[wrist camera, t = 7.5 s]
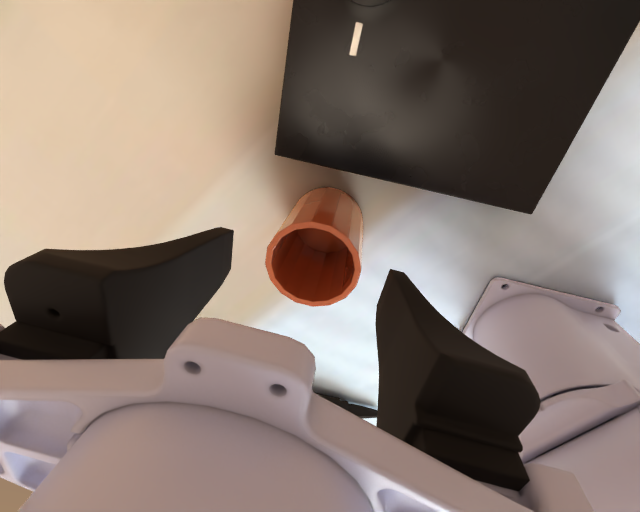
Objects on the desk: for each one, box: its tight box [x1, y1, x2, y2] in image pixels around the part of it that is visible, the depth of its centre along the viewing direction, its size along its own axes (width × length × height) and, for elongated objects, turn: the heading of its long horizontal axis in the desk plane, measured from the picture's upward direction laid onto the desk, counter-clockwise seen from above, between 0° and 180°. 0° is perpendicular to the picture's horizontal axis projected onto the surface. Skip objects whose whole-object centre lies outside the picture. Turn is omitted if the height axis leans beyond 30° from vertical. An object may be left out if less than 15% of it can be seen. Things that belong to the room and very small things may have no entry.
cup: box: [265, 187, 363, 306], centre depth 20 cm, size 5×5×7 cm
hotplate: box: [275, 0, 640, 214], centre depth 17 cm, size 17×14×3 cm
